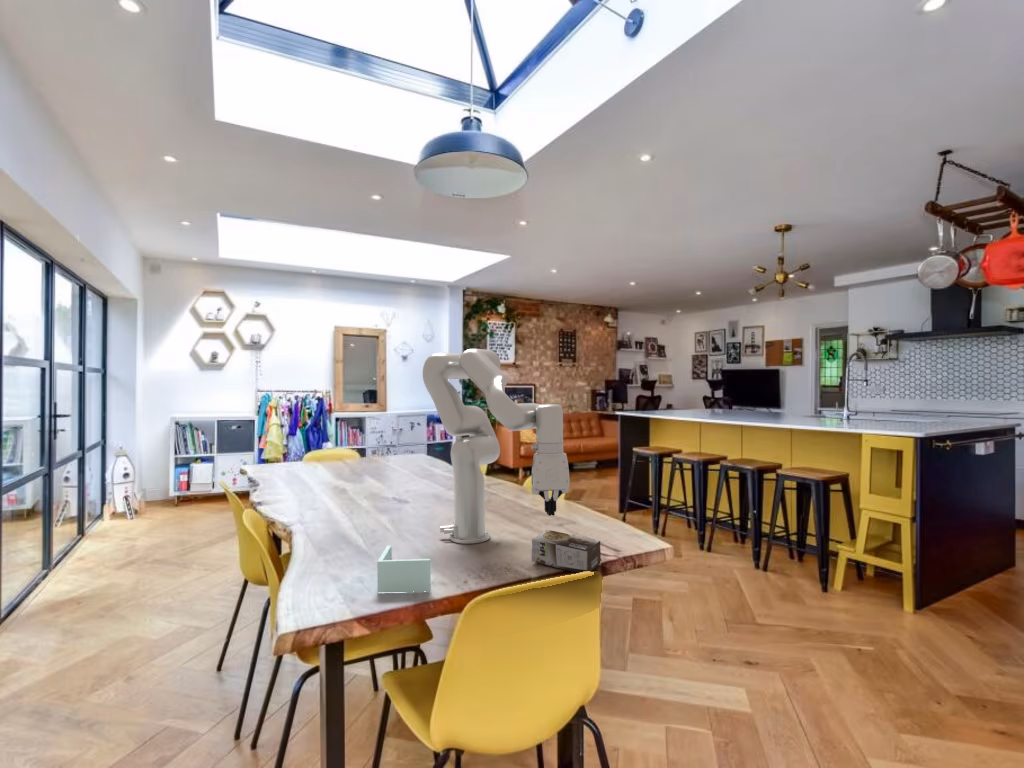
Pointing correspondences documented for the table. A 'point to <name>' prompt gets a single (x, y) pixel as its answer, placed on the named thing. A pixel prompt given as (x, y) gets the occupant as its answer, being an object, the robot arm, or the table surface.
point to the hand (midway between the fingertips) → (550, 514)
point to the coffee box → (566, 551)
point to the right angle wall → (402, 574)
